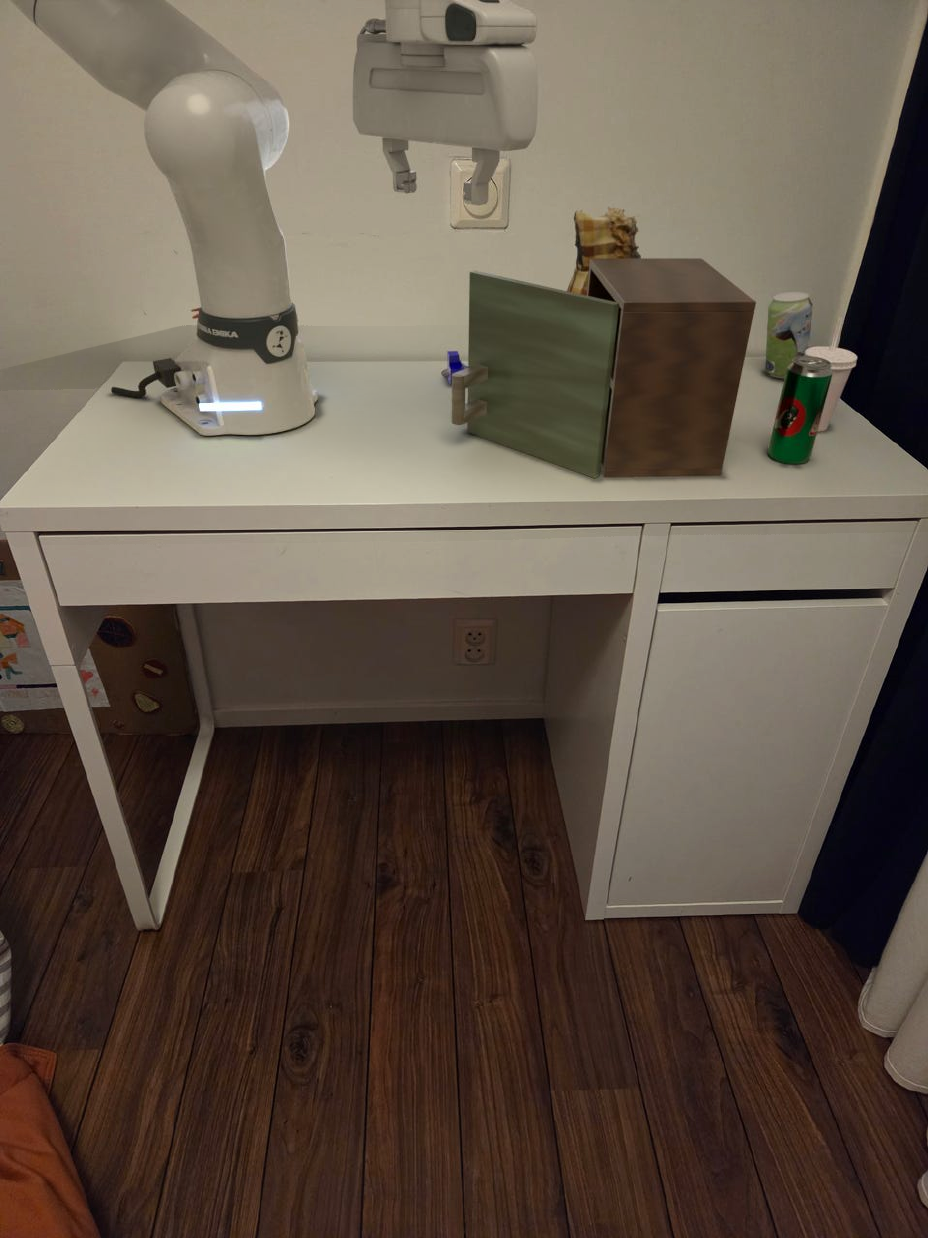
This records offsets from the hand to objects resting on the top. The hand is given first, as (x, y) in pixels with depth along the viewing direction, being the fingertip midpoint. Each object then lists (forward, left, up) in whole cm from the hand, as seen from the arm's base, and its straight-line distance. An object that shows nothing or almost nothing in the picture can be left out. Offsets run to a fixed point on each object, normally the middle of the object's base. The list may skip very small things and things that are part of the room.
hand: (439, 197), depth 80 cm
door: (+2, +12, -30) cm, 32 cm away
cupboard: (+10, +27, -30) cm, 42 cm away
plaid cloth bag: (-8, +40, -30) cm, 51 cm away
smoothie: (+24, +47, -30) cm, 61 cm away
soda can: (+26, +35, -30) cm, 53 cm away
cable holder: (-20, +29, -30) cm, 47 cm away
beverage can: (+12, +63, -30) cm, 71 cm away
